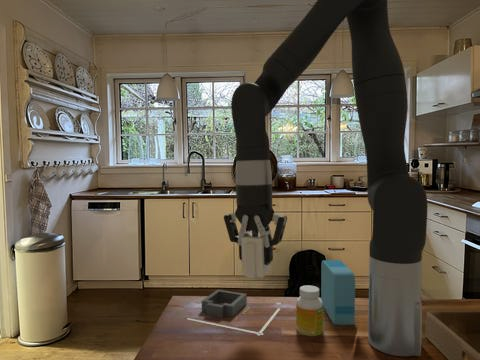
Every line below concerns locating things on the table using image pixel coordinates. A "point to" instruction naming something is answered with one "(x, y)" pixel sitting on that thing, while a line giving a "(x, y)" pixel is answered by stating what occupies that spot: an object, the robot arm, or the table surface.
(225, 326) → the header board
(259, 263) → the plug
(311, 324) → the supplement bottle
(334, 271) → the data package
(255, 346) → the table surface
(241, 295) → the frame
